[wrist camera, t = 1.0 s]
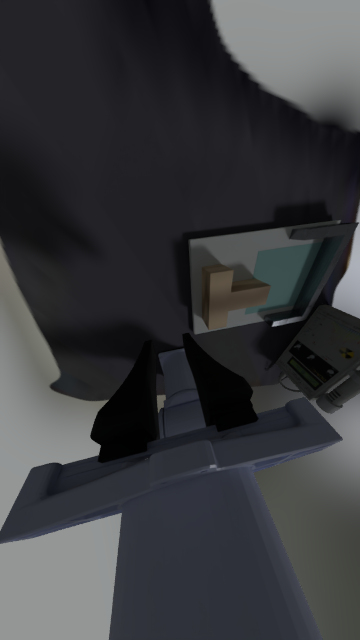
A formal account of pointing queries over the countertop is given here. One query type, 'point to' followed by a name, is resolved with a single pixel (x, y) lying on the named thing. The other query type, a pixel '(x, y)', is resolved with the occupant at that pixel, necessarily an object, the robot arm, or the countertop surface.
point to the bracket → (315, 268)
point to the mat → (255, 268)
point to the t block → (228, 294)
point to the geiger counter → (325, 358)
